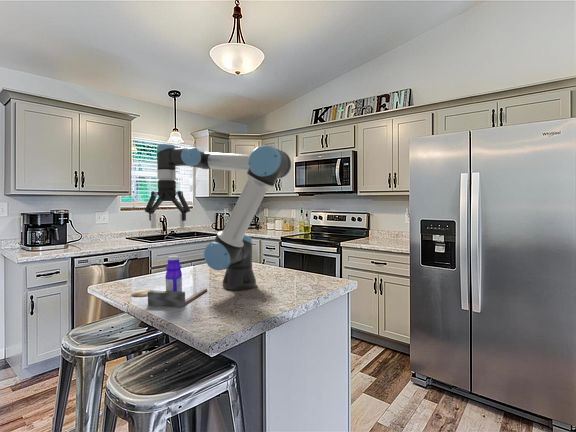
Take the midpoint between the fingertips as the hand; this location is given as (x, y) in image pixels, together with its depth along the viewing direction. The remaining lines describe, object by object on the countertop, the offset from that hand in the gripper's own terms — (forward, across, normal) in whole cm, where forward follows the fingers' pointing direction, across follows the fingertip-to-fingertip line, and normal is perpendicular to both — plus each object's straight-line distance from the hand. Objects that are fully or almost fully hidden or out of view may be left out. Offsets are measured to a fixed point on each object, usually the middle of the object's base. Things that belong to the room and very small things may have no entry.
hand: (167, 228), depth 146 cm
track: (+27, -12, +13) cm, 32 cm away
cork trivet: (+27, +6, +10) cm, 29 cm away
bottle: (+27, -12, +18) cm, 34 cm away
